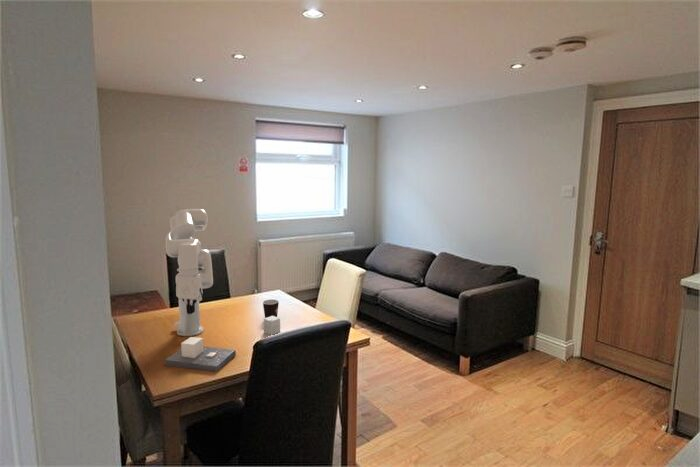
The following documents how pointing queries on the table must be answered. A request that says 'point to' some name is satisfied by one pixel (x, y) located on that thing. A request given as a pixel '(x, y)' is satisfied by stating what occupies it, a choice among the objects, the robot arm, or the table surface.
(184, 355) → the plug
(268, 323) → the skincare box
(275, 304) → the coffee mug
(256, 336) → the table surface
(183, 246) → the robot arm
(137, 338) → the table surface
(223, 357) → the socket plate
